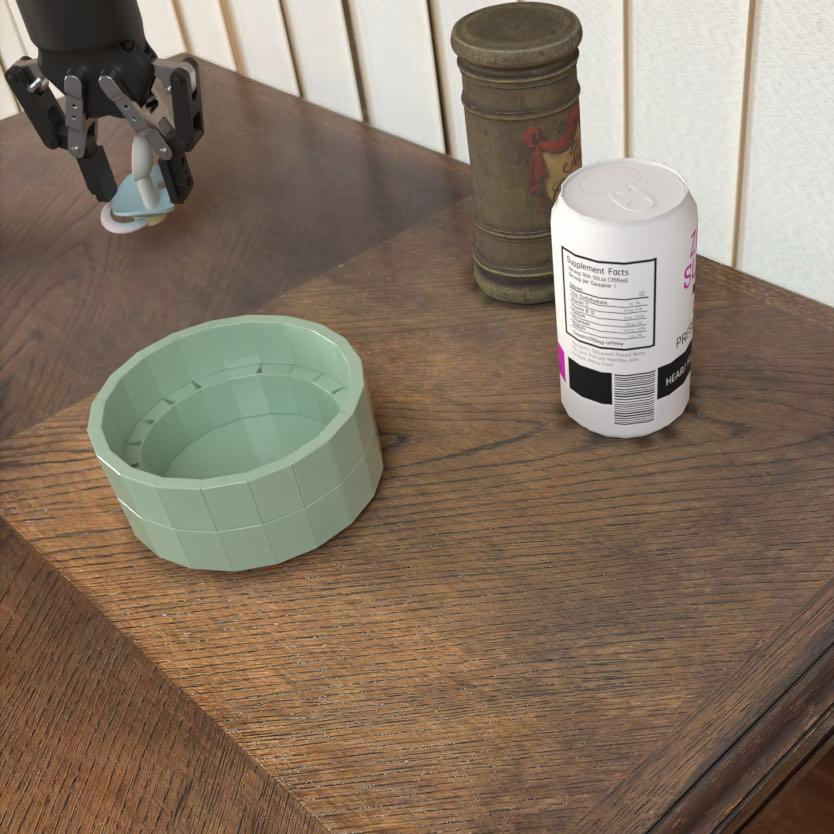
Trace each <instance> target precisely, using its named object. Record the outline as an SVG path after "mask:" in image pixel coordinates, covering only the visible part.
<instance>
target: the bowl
mask: <svg viewBox="0 0 834 834" xmlns="http://www.w3.org/2000/svg"><path fill="white" fill-rule="evenodd" d="M89 411H90V412H89V417H88V424H87V429H86V431H87V435H88V437H89V440H90V443H91V445H92V448H93V450H94V453H95V456H96V458H97V460H98V462H99V465H100V466H101V468H102V470H103V473H104V474H105V476H106V479H107V481H108V482H109V484H110V486H111V489H112V491H113V493H114V495H115V497H116V499H117V501H118V503H119V505H120V507H121V509H122V511H123V513H124V515H125V517H126V519H127V521H128V523H129V525H130V528H131V530H132V531H133V534H134V536H135V537H136V538H137V539H138V540H139V541H140V542H141V543H142V544H144V545H145V546H146V547H147V548H148V549H149V550H150V551H151V552H153V553H154V554H155V555H156V556H157V557H159V558H161V559H163V560H166V561H168V562H171V563H174V564H176V565H180V566H182V567H184V568H188V569H191V570H201V571H216V572H217V571H219V572H233V573H234V572H240V571H246V570H253V569H258V568H265V567H269V566H275V565H276V566H277V565H279V564H282V563H285V562H286V561H289V560H291V559H295V558H297V557H299V556H301V555H304V554H306V553H308V552H311V551H314V550H317V549H318V548H320V547H321V546H322V545H324V544H325V543H327V542H328V541H329V540H331V539H333V538H334V537H335V536H336V535H338V534H339V533H341V532H342V531H343V530H345V529H346V528H348V527H349V526H351V524H353V523H354V522H355V521H356V519H357V518H358V517H359V515H360V514H361V512H363V510H365V508H366V507H367V506H368V504H369V503H370V502H371V501H372V500H373V498H374V496H375V494H376V491H377V488H378V485H379V483H380V480H381V477H382V475H383V471H384V461H383V460H384V459H383V452H382V451H383V450H382V444H381V443H382V442H381V439H380V434H379V430H378V429H379V428H378V426H377V421H376V417H375V412H374V408H373V404H372V398H371V395H370V390H369V386H368V381H367V377H366V373H365V368H364V363H363V361H362V358H361V357H360V356H359V354H358V353H357V351H356V350H355V348H354V347H353V346H352V345H351V343H350V341H349V340H348V339H347V338H346V337H344V336H342V335H341V334H339V333H338V332H335V331H334V330H332V329H331V328H329V327H327V326H326V325H324V324H322V323H319V322H316V321H311V320H307V319H304V318H300V317H295V316H291V315H283V314H282V315H281V314H280V315H279V314H276V315H275V314H245V315H237V316H230V317H225V318H218V319H212V320H208V321H206V322H202V323H199V324H196V325H193V326H190V327H187V328H185V329H181V330H178V331H175V332H171V333H170V334H168V335H167V336H165V337H163V338H161V339H159V340H157V341H155V342H154V343H152V344H150V345H147V347H144V348H142V349H141V350H139V351H137V352H136V353H134V355H132V356H131V357H130V358H128V359H127V360H126V361H125V362H124V363H123V364H122V365H120V366H119V367H118V368H117V369H116V370H115V371H114V372H112V373H111V374H110V375H109V377H108V378H107V379H106V380H105V383H104V384H103V385H102V387H101V389H100V390H99V392H98V393H97V395H96V396H95V398H94V399H93V401H92V403H91V405H90V410H89Z"/></svg>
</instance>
